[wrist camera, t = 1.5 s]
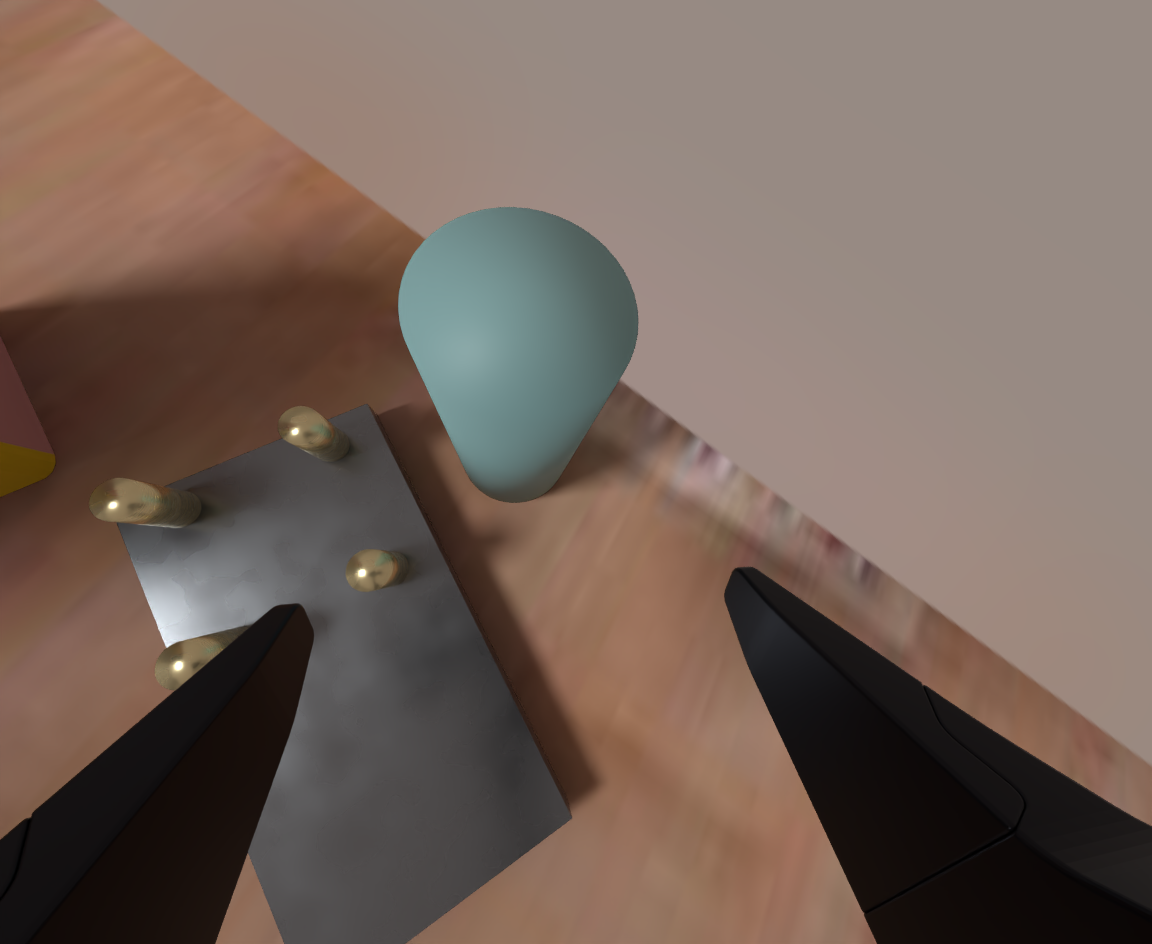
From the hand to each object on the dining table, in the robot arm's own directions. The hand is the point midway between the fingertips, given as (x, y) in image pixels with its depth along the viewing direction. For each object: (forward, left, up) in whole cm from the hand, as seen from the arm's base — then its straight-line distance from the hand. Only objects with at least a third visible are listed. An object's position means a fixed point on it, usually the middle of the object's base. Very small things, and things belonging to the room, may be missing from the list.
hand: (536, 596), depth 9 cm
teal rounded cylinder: (+6, -3, -13) cm, 14 cm away
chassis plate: (+1, +8, -13) cm, 15 cm away
